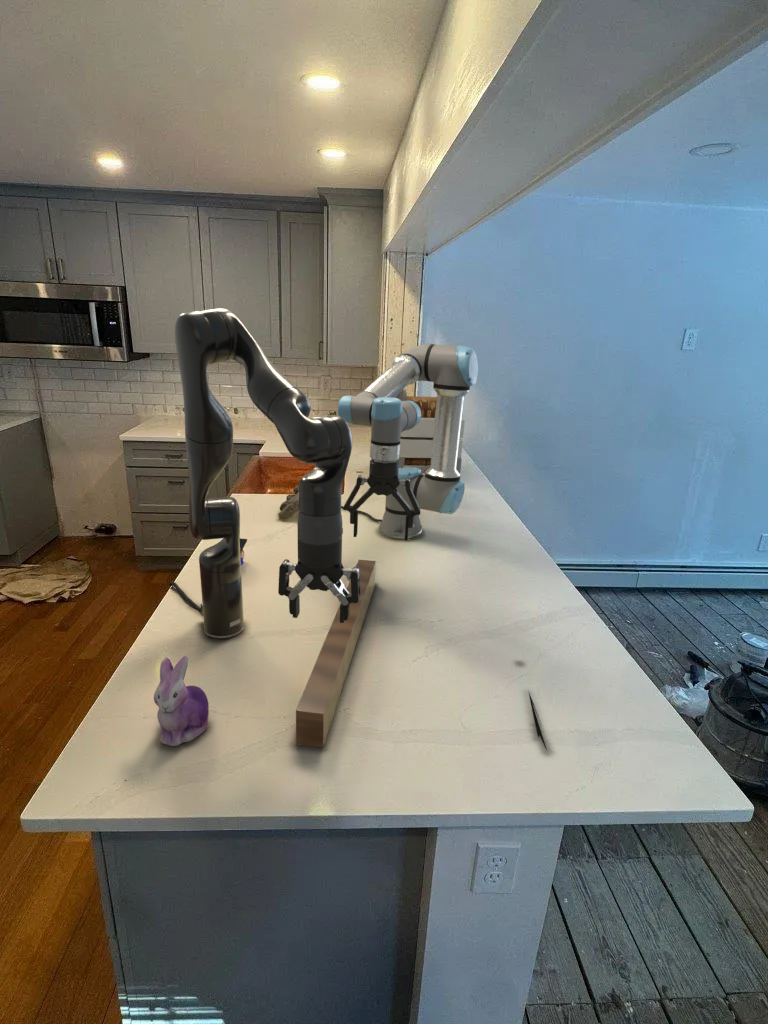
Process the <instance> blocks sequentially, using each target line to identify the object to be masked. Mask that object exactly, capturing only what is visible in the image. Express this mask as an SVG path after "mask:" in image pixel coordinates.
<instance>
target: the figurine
mask: <svg viewBox="0 0 768 1024" xmlns="http://www.w3.org/2000/svg"><path fill="white" fill-rule="evenodd" d="M188 666H189V656H187V655H184V656H183V657H181V658H180V660H178V662H177V663H176V664H175V666H173V663H172V661H171V659H170V658H169V657H164V658H163V659H162V660H161V663H160V667H159V683H158V685H157V687H156V689H155V691H154V694H153V702H154V704H155V705H156V706H157V707H158V710H157V721H158V724H159V726H160V729H161V733H160V738H159V739H160V743H161V744H163V745H167V746H170V747H177V746H179V745H181V744H182V743H188V742H191V741H192V740H195V739H196V738H197V737H199V736H200V735H202V734H203V733H204V731H206V730H207V728H208V725H209V714H210V713H209V711H210V710H209V708H210V707H209V706H210V704H209V699H208V696H207V694H206V692H205V691H204V690H203V689H202V688H201V687H199V686H197V685H186V683H185V676H186V674H187V670H188Z"/></svg>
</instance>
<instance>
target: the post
mask: <svg viewBox="0 0 768 1024" xmlns="http://www.w3.org/2000/svg"><path fill="white" fill-rule="evenodd" d="M355 566H358V567H359V568H360V587H361V595H360V597H359V601H358V603H350V611H349V617H348V619H347V620H345V622H344V623H340V604H341V602H340V603H339V606H338V608H337V610H336V613H335V615H334V617H333V620H332V623H331V625H330V628H329V630H328V632H327V634H326V637H325V639H324V641H323V644H322V646H321V649H320V652H319V654H318V656H317V659H316V661H315V664H314V666H313V668H312V670H311V673H310V676H309V678H308V680H307V682H306V685H305V688H304V690H303V692H302V694H301V697H300V700H299V702H298V705H297V707H296V709H295V739H296V740H295V745H297V746H298V745H299V746H306V747H314V748H320V749H321V748H322V749H324V747H325V744H326V740H327V738H328V735H329V731H330V728H331V725H332V722H333V718H334V715H335V712H336V708H337V707H338V703H339V700H340V698H341V697H340V696H341V693H342V690H343V687H344V684H345V681H346V678H347V674H348V671H349V667H350V665H351V661H352V658H353V655H354V652H355V649H356V647H357V643H358V639H359V637H360V633H361V630H362V627H363V623H364V621H365V617H366V615H367V612H368V608H369V605H370V602H371V599H372V596H373V593H374V590H375V587H376V574H377V573H376V572H377V571H376V570H377V561H376V560H370V559H369V560H368V559H357V562H356V565H355ZM346 590H347V591H348V592H349V593H351V581H348V584H347V587H346Z"/></svg>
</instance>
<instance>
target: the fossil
mask: <svg viewBox="0 0 768 1024" xmlns="http://www.w3.org/2000/svg"><path fill="white" fill-rule="evenodd" d="M293 493H294V494H292V493H291V494H288V495H286V500H285V501H283V502H282V503H281V504H280V506H279V511H280V512H278V514H277V515H278V519H279V520H282V521H285V520H288V519H291V518H292V517H294V516H295V515H296V514H298V513H299V485H295V486H294V488H293Z"/></svg>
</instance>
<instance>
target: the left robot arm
mask: <svg viewBox="0 0 768 1024" xmlns="http://www.w3.org/2000/svg"><path fill="white" fill-rule="evenodd" d="M174 339H175V340H174V341H175V347H176V354H177V361H178V367H179V374H180V379H181V386H182V395H183V411H184V438H185V448H186V450H185V451H186V460H187V461H186V462H187V469H188V522H189V530H190V533H191V535H192V537H193V538H194V539H196V540H198V541H209V540H219V539H221V540H220V541H219V542H217V543H215V544H214V545H211V546H209V547H207V548H205V549H203V551H201V552H200V554H199V557H198V564H199V577H200V590H201V603H200V605H197V603H196V602H194V601H193V600H192V599H191V598H190V597H189V596H188V595H187V594H186V592H185V591H184V590H183V589H182V588H181V587H180V586H179V585H178V584H177V582H175V581H170V582H169V583H168V586H169V587H174V589H175V590H176V591H177V592H178V593H179V594H180V595H181V597H182V598H183V599H184V600H185V601H186V602H187V603H188V604H189V605H190V606H191V607H192V608H194V609H195V610H196V611H198V612H200V615H201V616H202V617H203V618H202V619H203V633H204V634H205V635H206V637H208V638H211V639H216V640H225V639H231V638H233V637H236V636H238V635H240V634H241V633H242V632H243V631H244V629H245V622H244V599H243V581H242V578H243V577H242V566H241V558H240V538H241V511H240V505H239V502H238V500H237V499H236V498H234V496H233V497H232V496H222V497H209V498H208V497H207V496H208V494H209V491H210V490H211V487H212V485H213V484H214V482H215V481H216V480H217V478H218V477H219V476H220V475H221V473H222V472H223V471H224V469H225V468H226V467H227V466H228V465H229V462H230V461H231V458H232V456H233V453H234V426H233V422H232V419H231V417H230V415H229V414H228V412H227V411H226V409H225V408H224V406H223V405H222V404H221V403H220V402H219V400H217V398H216V396H215V395H214V394H213V392H212V390H211V389H210V386H209V381H208V377H207V376H208V372H207V371H208V370H207V368H208V365H213V364H218V363H223V362H227V361H229V360H233V361H234V362H237V363H238V364H240V365H241V366H242V367H243V368H244V371H245V382H246V390H247V393H248V396H249V398H250V400H251V401H252V403H253V404H254V406H255V407H256V408H257V409H258V410H259V411H260V412H261V413H262V414H263V415H264V416H265V417H266V418H267V419H268V420H269V421H270V422H271V423H272V424H273V425H274V426H275V428H276V430H277V433H278V434H279V436H280V438H281V440H282V442H283V443H284V444H283V445H284V446H285V447H286V449H287V451H288V452H289V454H290V455H291V457H293V458H294V459H295V460H297V461H299V462H301V463H304V464H309V465H311V464H315V465H314V467H313V468H312V469H311V470H310V471H309V472H307V473H305V474H304V475H303V476H302V477H301V478H300V479H299V482H298V486H299V512H298V513H297V514H298V515H297V524H296V525H297V526H296V527H297V563H295V562H291V561H290V559H284V560H283V561H282V562H281V564H280V565H279V569H278V589H277V592H278V595H279V596H282V597H283V596H284V597H287V598H288V602H289V603H288V607H289V608H288V610H289V611H288V612H289V615H292V619H293V618H294V619H297V618H298V617H299V615H300V610H301V609H300V608H301V607H300V605H301V603H300V602H301V601H300V594H301V593H302V592H303V590H305V588H308V589H309V590H310V591H317V590H319V591H321V592H328V591H330V592H331V594H332V596H334V597H335V598H336V599H337V600H338V601H339V602H340V603H341V604H340V603H339V606H340V623H344V622H345V620H347V619H348V617H349V611H350V603H358V601H359V597H360V595H361V587H360V568H359V567H358V566H356V565H355V566H353V567H352V568H349V567H344V565H343V563H342V562H343V534H344V528H343V517H342V508H341V506H342V487H343V486H342V485H343V483H344V480H345V477H346V473H347V469H348V466H349V462H350V458H351V454H352V450H353V434H352V430H351V428H350V424H349V423H347V422H346V421H345V420H344V419H343V418H342V417H340V416H338V414H326V415H320V416H314V417H313V416H312V417H309V416H310V414H311V409H312V408H311V407H312V405H311V403H310V400H309V399H308V397H307V395H306V394H305V393H303V391H301V390H300V389H299V388H298V387H297V386H296V385H295V384H294V383H292V382H291V380H290V379H288V378H287V377H286V376H285V375H284V374H283V373H282V372H281V371H280V370H279V369H278V367H276V366H275V365H274V363H273V362H272V361H271V359H269V356H267V354H266V353H265V352H264V350H263V349H262V347H261V346H260V344H258V343H259V342H257V341H256V339H255V338H254V337H253V336H252V334H251V333H250V331H249V330H248V328H247V327H246V326H245V325H244V323H243V322H242V321H241V319H240V318H238V316H237V315H236V314H234V312H233V311H231V310H229V309H227V308H220V307H217V308H209V309H208V308H207V309H200V310H193V311H187V312H183V313H181V314H179V316H178V317H176V321H175V326H174ZM293 572H295V574H296V575H297V576H298V577H299V581H298V582H297V583H296V584H295V586H294V587H292V586H290V576H291V575H292V573H293ZM343 576H345V577H346V580H347V581H348V582H349V581H351V593H349V592H348V591H347V590H346V589H347V587H345V586H346V585H345V584H344V582H343V581H342V580H341V579H342V578H343Z"/></svg>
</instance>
